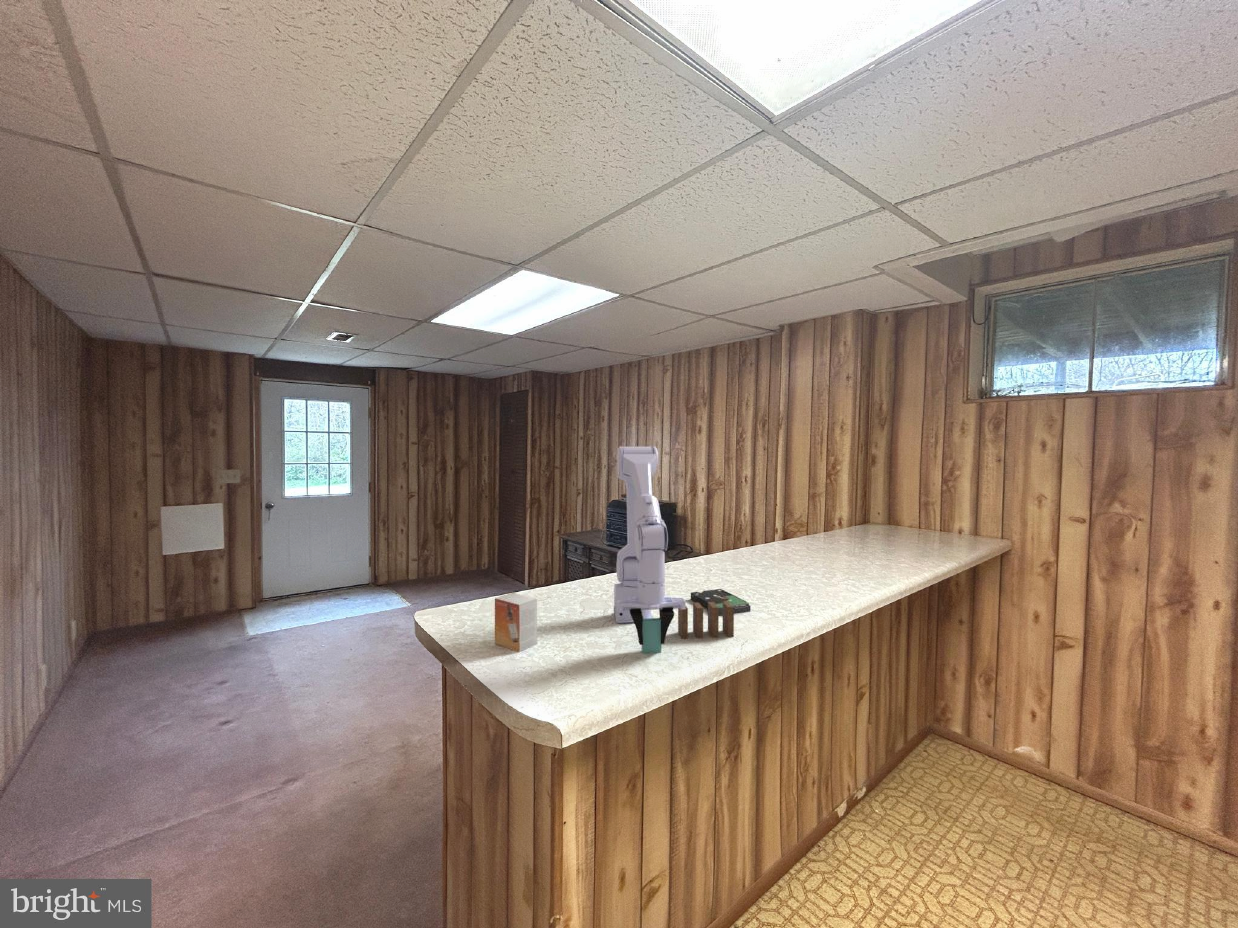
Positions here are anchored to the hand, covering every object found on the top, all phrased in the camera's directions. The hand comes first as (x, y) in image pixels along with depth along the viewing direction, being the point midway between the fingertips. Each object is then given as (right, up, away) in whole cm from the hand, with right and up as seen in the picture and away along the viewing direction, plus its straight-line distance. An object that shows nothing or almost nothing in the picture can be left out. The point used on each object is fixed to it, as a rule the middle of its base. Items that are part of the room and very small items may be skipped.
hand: (651, 642), depth 107 cm
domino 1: (+8, -2, +9) cm, 12 cm away
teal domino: (0, -2, 0) cm, 2 cm away
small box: (-30, -2, +4) cm, 30 cm away
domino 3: (+15, -2, +10) cm, 18 cm away
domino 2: (+11, -2, +9) cm, 15 cm away
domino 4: (+19, -1, +10) cm, 21 cm away
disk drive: (+21, -1, +30) cm, 37 cm away
